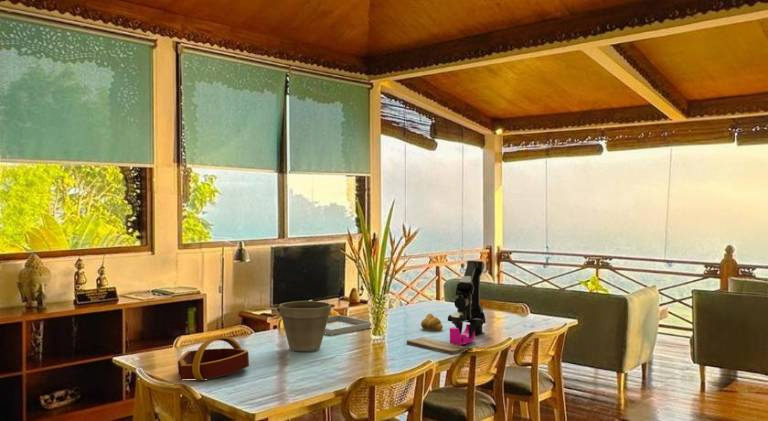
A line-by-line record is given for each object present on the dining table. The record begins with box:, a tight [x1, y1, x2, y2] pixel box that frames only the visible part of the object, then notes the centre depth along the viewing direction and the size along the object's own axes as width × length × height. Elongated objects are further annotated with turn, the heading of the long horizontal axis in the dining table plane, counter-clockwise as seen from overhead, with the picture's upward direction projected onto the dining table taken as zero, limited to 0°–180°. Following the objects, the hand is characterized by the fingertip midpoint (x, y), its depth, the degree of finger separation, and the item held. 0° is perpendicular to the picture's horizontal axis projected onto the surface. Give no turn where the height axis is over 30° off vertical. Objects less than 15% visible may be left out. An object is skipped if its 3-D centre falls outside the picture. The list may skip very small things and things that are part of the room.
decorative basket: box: [177, 335, 250, 381], centre depth 268 cm, size 34×29×15 cm
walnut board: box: [406, 336, 470, 355], centre depth 313 cm, size 12×30×2 cm, turn 43°
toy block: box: [449, 323, 476, 346], centre depth 320 cm, size 15×6×8 cm, turn 133°
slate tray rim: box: [324, 314, 371, 336], centre depth 360 cm, size 31×31×3 cm
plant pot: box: [278, 300, 332, 352], centre depth 309 cm, size 25×25×22 cm
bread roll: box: [420, 313, 443, 331], centre depth 355 cm, size 13×10×8 cm
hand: (465, 337), depth 320 cm, fingers closed on toy block, 6 cm apart
